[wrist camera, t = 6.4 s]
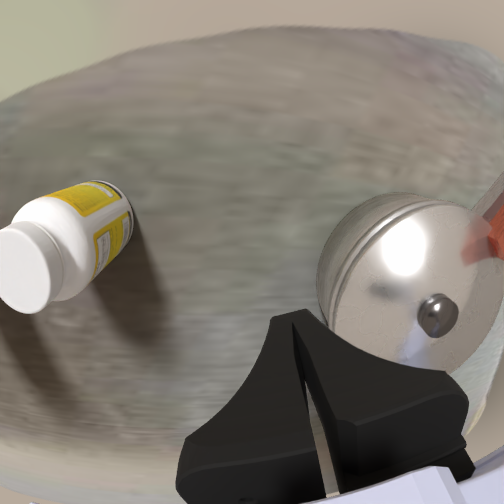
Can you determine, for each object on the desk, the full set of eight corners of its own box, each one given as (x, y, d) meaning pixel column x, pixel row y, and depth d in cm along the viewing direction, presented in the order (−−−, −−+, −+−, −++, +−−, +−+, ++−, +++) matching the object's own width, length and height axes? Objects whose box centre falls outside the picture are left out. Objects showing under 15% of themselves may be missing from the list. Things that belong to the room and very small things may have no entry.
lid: (398, 409, 20) (406, 425, 18) (286, 317, 17) (290, 335, 15) (555, 238, 16) (570, 245, 15) (495, 98, 13) (514, 97, 12)
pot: (352, 385, 26) (369, 426, 21) (250, 296, 22) (253, 335, 18) (510, 234, 22) (547, 252, 17) (446, 112, 19) (489, 109, 14)
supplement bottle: (55, 200, 20) (-38, 239, 10) (115, 166, 19) (28, 186, 10) (86, 267, 21) (12, 338, 12) (148, 240, 21) (87, 310, 12)
